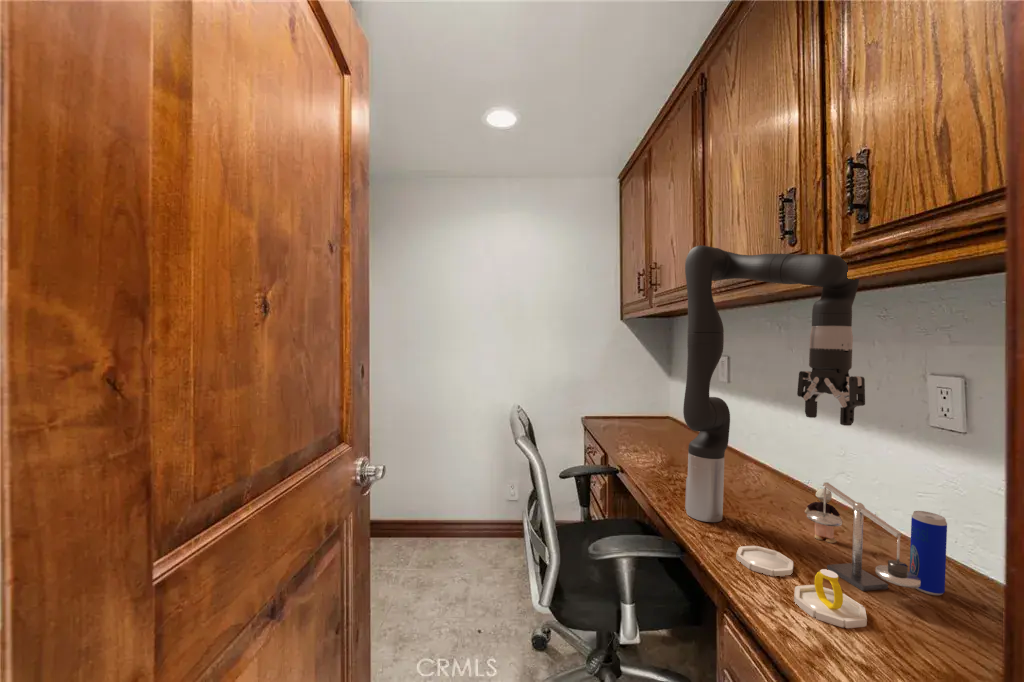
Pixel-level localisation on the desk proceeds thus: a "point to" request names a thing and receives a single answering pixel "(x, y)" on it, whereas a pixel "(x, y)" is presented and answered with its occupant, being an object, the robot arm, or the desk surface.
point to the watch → (835, 585)
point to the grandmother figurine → (821, 529)
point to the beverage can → (928, 551)
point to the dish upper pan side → (764, 560)
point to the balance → (853, 572)
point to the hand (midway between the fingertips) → (827, 421)
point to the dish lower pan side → (843, 617)
